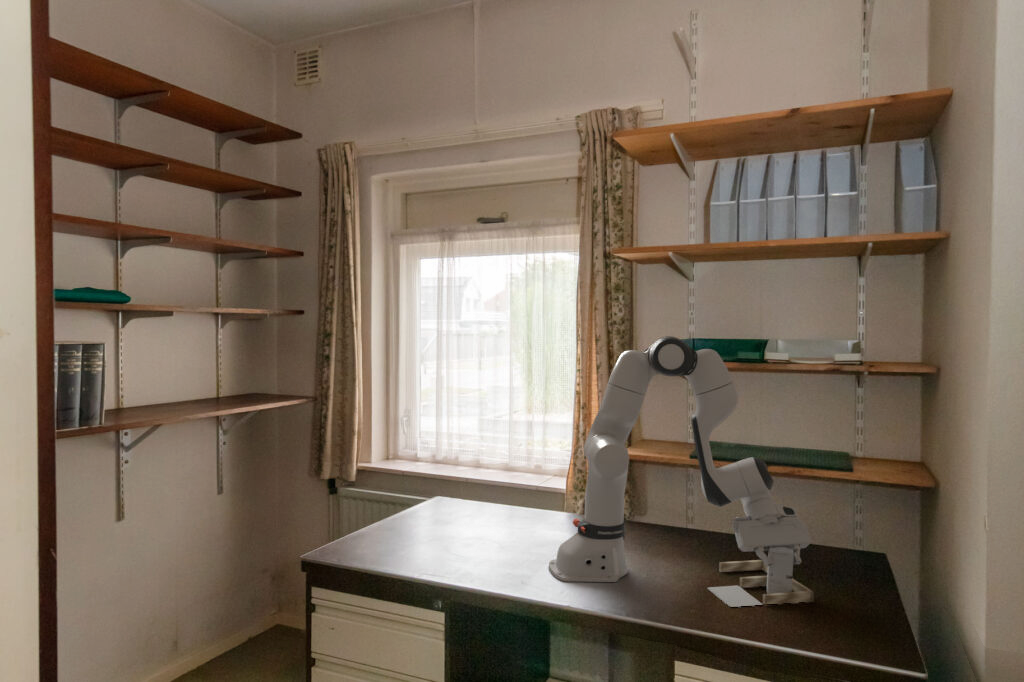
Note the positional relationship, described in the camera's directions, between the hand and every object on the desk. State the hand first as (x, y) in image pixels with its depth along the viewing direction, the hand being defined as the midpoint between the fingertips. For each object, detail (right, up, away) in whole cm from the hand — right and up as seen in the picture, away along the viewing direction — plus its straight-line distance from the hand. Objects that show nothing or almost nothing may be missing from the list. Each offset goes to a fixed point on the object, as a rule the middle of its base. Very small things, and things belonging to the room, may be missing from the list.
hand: (783, 564), depth 175 cm
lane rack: (-3, -8, +6) cm, 11 cm away
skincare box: (-1, -9, +2) cm, 9 cm away
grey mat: (-13, -8, -1) cm, 16 cm away
